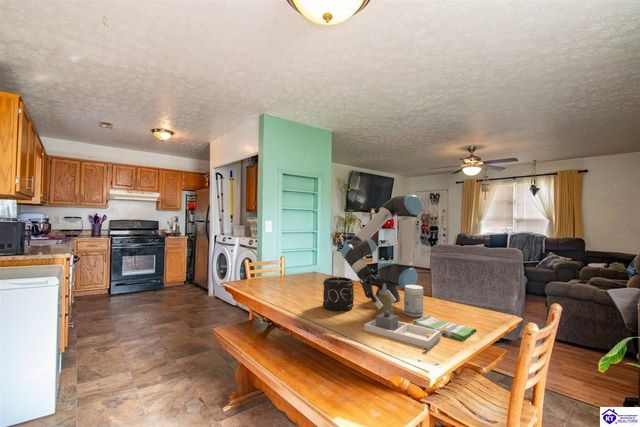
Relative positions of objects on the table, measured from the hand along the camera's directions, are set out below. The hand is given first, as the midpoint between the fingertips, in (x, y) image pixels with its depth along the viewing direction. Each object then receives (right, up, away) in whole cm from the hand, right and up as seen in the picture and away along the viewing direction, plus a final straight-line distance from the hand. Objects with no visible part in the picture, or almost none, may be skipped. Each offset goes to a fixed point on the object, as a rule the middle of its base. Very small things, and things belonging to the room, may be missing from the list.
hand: (388, 304), depth 146 cm
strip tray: (+1, -8, -18) cm, 20 cm away
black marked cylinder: (-23, -9, +23) cm, 33 cm away
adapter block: (-4, -7, -14) cm, 16 cm away
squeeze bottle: (-2, -8, +1) cm, 9 cm away
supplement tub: (+16, -9, +11) cm, 21 cm away
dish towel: (+23, -9, -9) cm, 27 cm away
